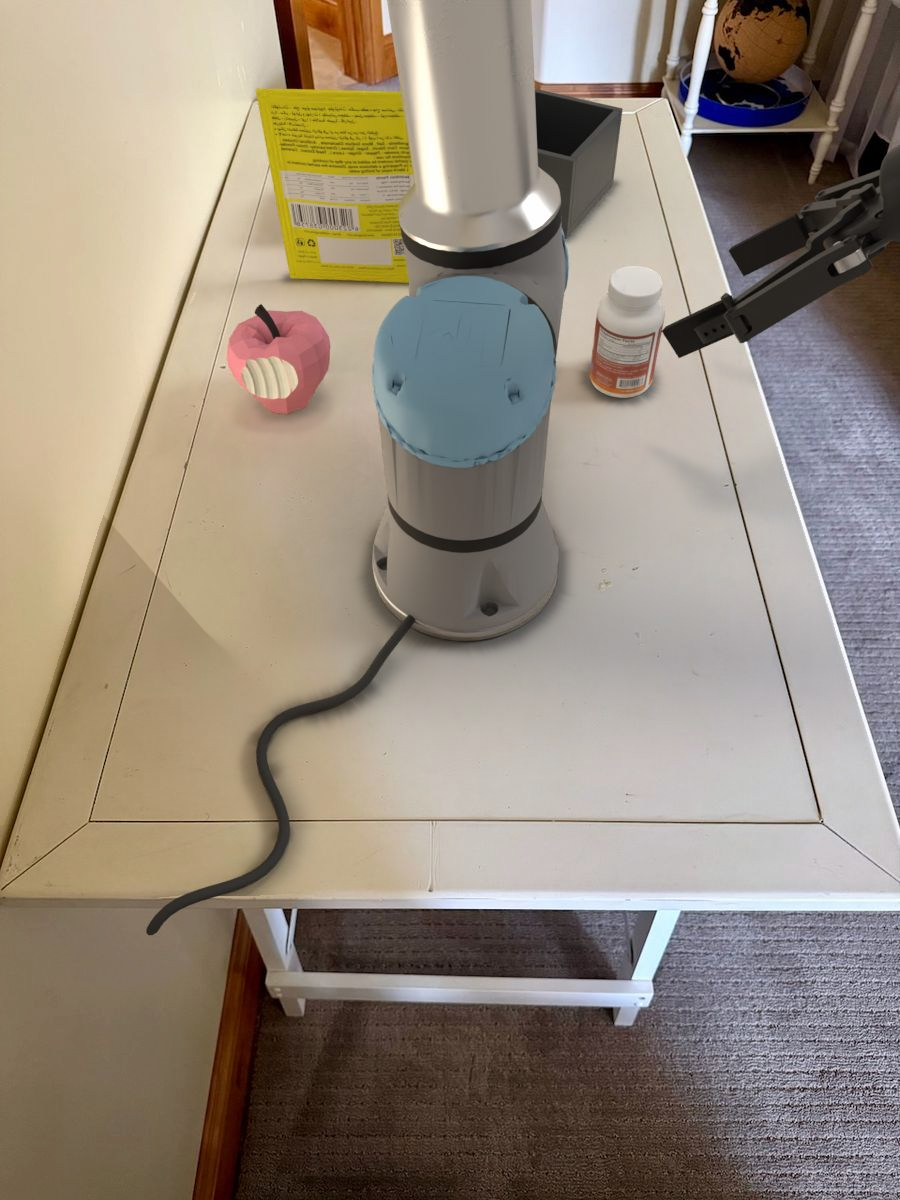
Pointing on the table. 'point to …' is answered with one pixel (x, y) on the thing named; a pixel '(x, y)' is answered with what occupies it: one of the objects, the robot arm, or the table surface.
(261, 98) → the food package
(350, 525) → the table surface
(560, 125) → the trash bin
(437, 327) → the robot arm
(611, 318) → the pill bottle
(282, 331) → the apple
